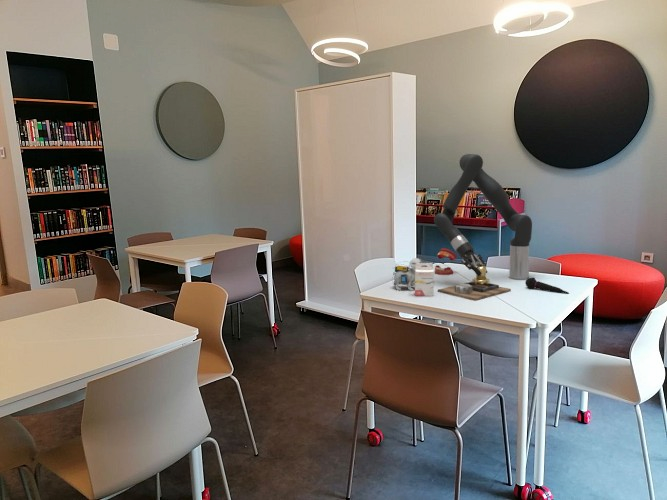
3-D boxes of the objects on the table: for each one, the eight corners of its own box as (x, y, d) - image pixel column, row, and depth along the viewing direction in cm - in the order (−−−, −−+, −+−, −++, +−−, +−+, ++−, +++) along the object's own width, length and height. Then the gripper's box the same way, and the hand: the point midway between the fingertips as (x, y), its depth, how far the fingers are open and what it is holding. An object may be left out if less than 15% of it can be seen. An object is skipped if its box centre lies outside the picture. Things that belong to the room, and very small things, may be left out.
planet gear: (479, 279, 241) (479, 264, 240) (492, 282, 235) (493, 266, 233) (469, 282, 236) (469, 266, 235) (482, 284, 230) (483, 269, 229)
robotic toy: (425, 292, 236) (425, 261, 233) (389, 290, 241) (388, 260, 239) (428, 286, 247) (428, 256, 245) (394, 284, 253) (394, 255, 251)
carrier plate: (472, 283, 251) (473, 275, 250) (510, 291, 233) (511, 282, 233) (437, 291, 236) (437, 283, 235) (475, 300, 218) (475, 291, 218)
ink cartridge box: (415, 296, 229) (415, 265, 226) (414, 293, 234) (414, 263, 231) (434, 296, 228) (434, 264, 225) (433, 293, 233) (433, 262, 230)
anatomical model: (428, 272, 276) (435, 246, 277) (436, 275, 281) (443, 250, 282) (444, 275, 268) (451, 248, 269) (452, 278, 273) (459, 252, 275)
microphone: (568, 299, 228) (526, 288, 241) (572, 287, 227) (529, 276, 241) (564, 298, 223) (522, 286, 237) (568, 286, 223) (525, 275, 237)
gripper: (457, 243, 234) (479, 271, 227) (475, 239, 243) (496, 267, 236) (448, 252, 239) (469, 281, 232) (465, 249, 248) (486, 276, 241)
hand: (482, 274), depth 234 cm, fingers closed on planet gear, 4 cm apart
